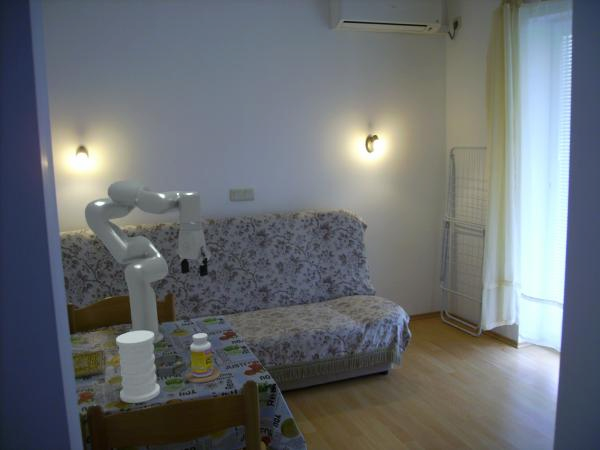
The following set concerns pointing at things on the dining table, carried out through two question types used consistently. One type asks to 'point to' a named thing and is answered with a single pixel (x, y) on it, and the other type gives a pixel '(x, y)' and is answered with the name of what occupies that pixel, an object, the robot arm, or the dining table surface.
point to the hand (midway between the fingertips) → (194, 274)
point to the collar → (172, 370)
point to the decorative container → (137, 366)
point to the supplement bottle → (201, 356)
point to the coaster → (206, 379)
